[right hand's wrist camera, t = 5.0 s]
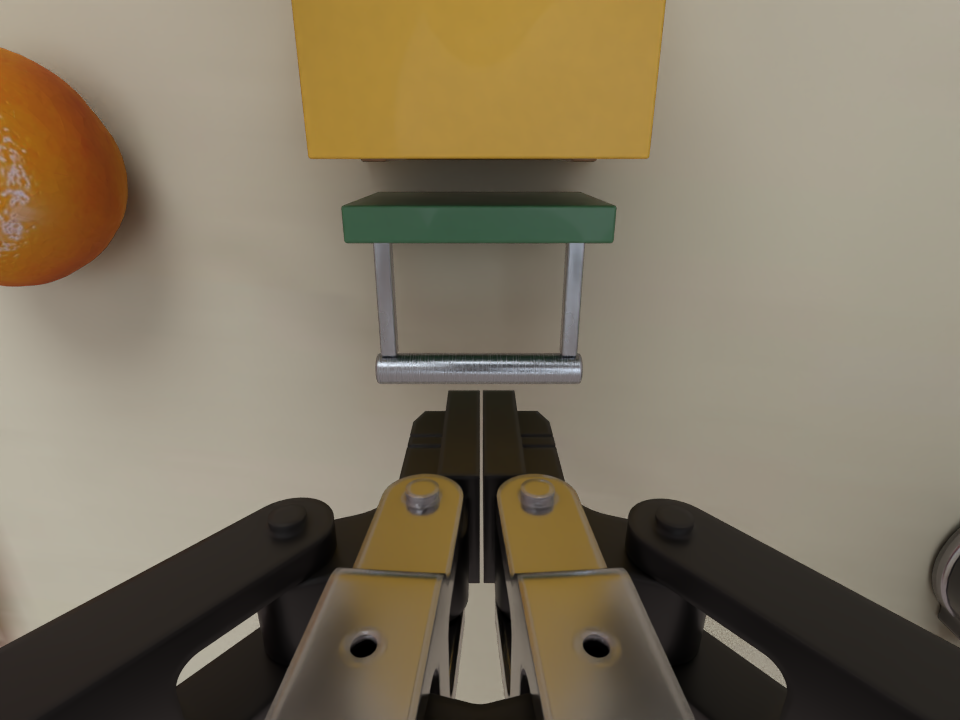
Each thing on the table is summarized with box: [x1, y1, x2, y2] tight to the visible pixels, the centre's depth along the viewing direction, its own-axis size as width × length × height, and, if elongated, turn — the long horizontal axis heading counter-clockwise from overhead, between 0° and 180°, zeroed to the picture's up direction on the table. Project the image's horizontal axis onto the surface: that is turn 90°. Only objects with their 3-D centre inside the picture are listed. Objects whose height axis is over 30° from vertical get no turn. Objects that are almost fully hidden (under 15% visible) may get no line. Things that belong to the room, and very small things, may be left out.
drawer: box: [341, 159, 616, 384], centre depth 19 cm, size 18×9×6 cm, turn 0°
